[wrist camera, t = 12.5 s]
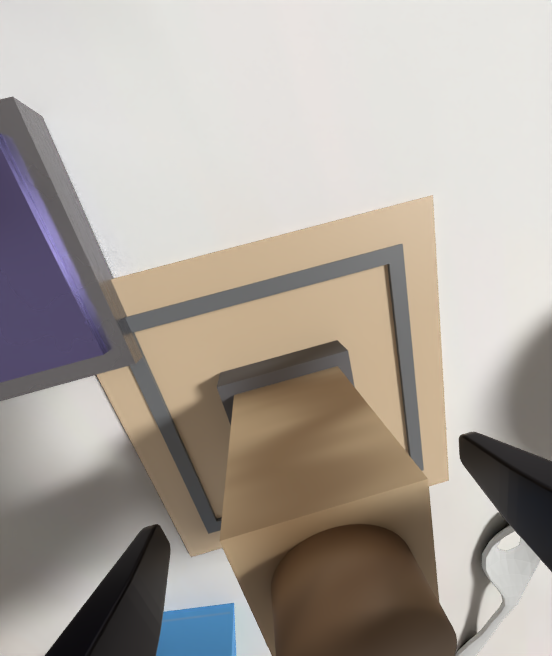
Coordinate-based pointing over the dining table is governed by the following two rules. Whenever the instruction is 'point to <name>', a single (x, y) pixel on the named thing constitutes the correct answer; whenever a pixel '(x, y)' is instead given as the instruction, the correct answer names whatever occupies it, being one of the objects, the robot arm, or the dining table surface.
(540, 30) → the dining table surface
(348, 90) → the dining table surface
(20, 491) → the dining table surface
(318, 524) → the stamp
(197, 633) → the perfume bottle
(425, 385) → the print sheet
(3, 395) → the ink pad
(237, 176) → the dining table surface
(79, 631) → the robot arm
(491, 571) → the spoon
